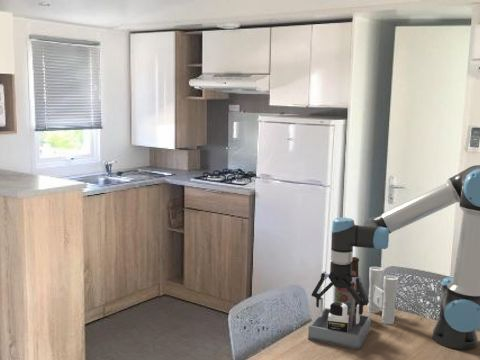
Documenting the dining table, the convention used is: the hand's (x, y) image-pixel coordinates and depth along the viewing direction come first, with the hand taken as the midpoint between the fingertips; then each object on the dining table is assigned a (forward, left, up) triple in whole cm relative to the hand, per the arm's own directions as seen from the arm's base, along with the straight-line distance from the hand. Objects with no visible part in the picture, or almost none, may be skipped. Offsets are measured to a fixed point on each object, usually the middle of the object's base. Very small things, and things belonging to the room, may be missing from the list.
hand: (338, 319), depth 195 cm
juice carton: (0, -9, -7) cm, 11 cm away
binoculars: (-10, -30, -8) cm, 32 cm away
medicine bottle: (0, 0, -7) cm, 7 cm away
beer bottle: (+1, -24, -8) cm, 25 cm away
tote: (0, -4, -7) cm, 9 cm away
